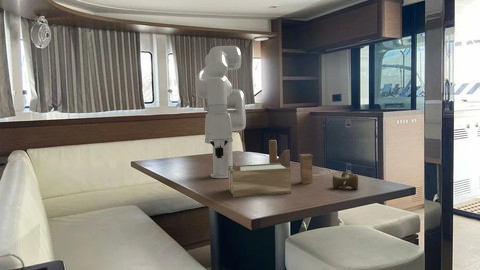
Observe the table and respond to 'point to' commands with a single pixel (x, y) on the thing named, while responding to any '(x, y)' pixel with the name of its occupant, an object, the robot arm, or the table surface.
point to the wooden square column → (306, 168)
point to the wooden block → (283, 158)
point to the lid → (254, 167)
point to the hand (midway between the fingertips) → (219, 157)
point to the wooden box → (259, 181)
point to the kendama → (346, 180)
